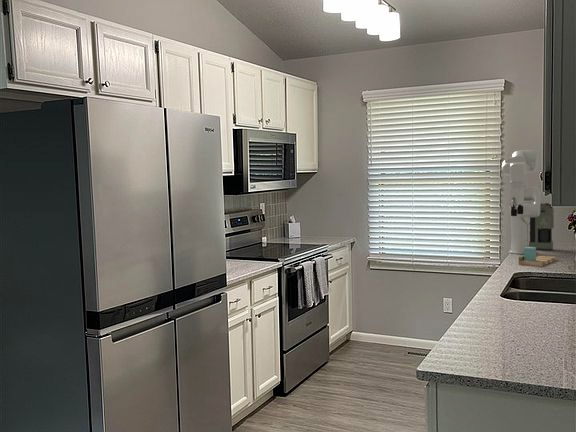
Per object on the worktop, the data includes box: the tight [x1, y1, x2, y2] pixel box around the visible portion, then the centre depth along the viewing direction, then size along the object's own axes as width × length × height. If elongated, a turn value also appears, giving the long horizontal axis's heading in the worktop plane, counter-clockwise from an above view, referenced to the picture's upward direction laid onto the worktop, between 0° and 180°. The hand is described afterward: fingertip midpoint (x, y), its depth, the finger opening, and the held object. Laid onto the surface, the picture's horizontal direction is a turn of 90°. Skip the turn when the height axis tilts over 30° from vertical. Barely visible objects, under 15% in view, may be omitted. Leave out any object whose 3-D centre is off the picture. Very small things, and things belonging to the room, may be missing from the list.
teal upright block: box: [523, 247, 537, 261], centre depth 307 cm, size 5×4×7 cm
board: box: [518, 251, 558, 267], centre depth 311 cm, size 24×12×4 cm, turn 136°
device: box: [528, 202, 555, 251], centre depth 357 cm, size 14×8×30 cm, turn 59°
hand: (517, 215), depth 317 cm, fingers open, 9 cm apart
